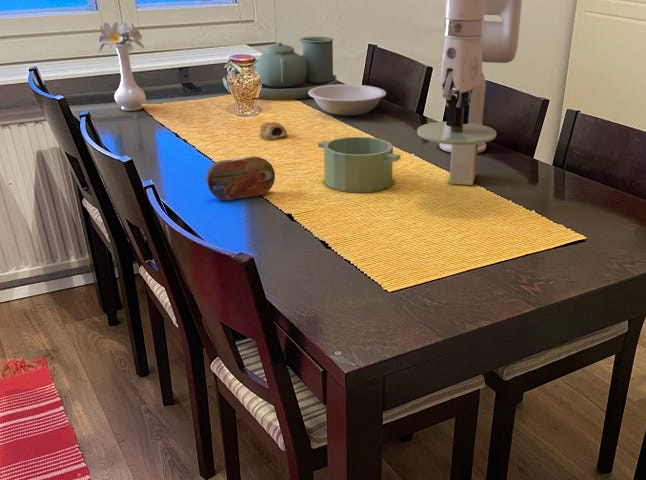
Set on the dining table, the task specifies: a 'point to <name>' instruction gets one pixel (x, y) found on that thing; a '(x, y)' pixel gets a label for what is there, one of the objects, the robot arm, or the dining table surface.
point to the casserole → (358, 163)
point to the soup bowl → (347, 98)
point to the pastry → (272, 130)
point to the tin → (240, 178)
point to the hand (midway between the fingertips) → (457, 124)
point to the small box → (463, 164)
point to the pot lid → (456, 133)
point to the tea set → (295, 69)
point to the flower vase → (124, 63)
